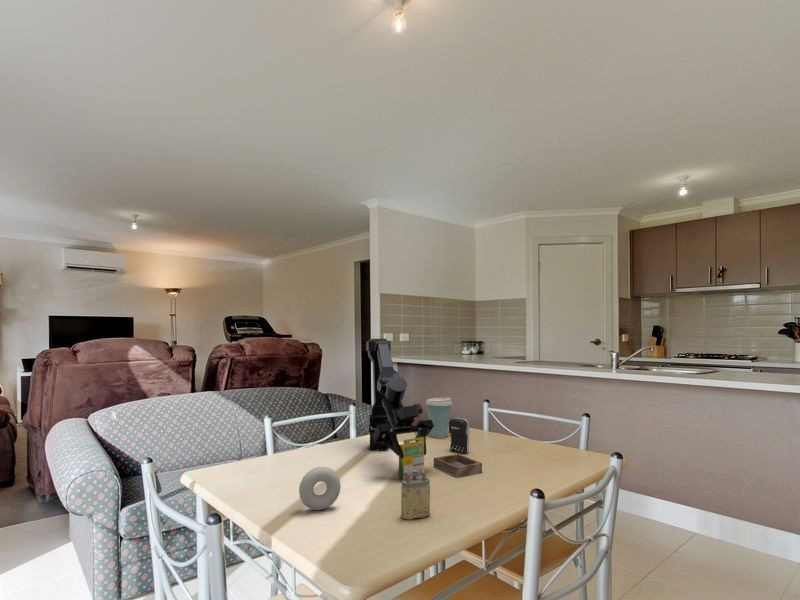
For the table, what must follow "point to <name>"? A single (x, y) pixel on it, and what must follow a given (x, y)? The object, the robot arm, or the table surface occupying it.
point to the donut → (328, 496)
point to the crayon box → (412, 457)
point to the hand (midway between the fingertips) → (414, 456)
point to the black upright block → (459, 435)
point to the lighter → (415, 495)
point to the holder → (457, 465)
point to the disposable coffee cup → (439, 415)
